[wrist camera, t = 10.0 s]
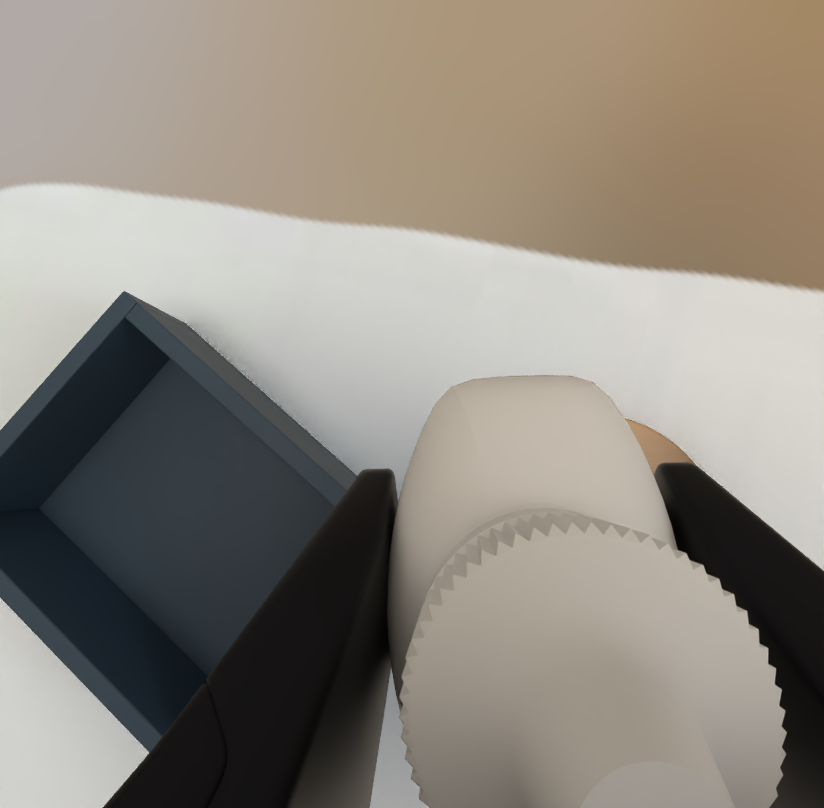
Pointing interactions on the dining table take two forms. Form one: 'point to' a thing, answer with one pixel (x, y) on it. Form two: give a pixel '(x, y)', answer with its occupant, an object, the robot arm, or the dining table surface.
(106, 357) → the tub
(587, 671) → the eye dropper bottle
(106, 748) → the dining table surface
